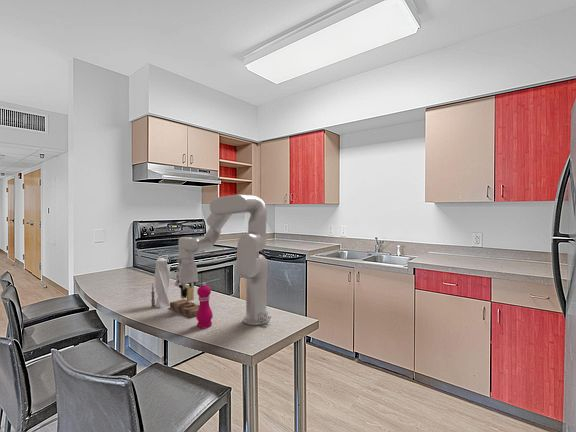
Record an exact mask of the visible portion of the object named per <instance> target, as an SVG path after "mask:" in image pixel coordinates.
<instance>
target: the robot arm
mask: <svg viewBox="0 0 576 432" xmlns="http://www.w3.org/2000/svg"><path fill="white" fill-rule="evenodd" d="M209 210H210V214H209V215H208V217H207V218H206V224H207V226H208V227H209V228H208V230H207V231H206V233H204V235H203V236H197V237H192V236H182V237H179V239H178V259H176V263H178V264H177V266H176V275H175V276H176V278H175V280H176V281H175V283H174V286H175V287H178V288H179V289H181V291H180V296H181V295H182V297H186V289H185V285H188V286H191V287H194V288H195V285H196V284H197V283H198V282H199V276H198V268H197V263H196V262H195V254H197V253H201V252H206V251H209V250H210V249H211V248H213V246H214V245H215V244H216V243H217V241H218V240H219V238H220V236H221V232H222V231H221V230H222V229H223V227H224V226H225V224H226V223H227V222H228V220H229V219H230V218H231V216H232V215H235V214H236V215H237V214H247V213H248V214H249V218H248V223H247V233H244V234H242V235H241V236H240V237H239V238H238V241H237V246H236V271H237V273H238V275H239V276H240V277H241V278H243V279H245V280H246V282H245V298H246V299H245V300H246V303H245V306H246V307H245V308H246V312H245V313H246V315H245V316H243V318H242V321H243V323H244V324H246V325H250V326H259V325H265V324H267V323H269V322H270V321H271V319H272V316H271V315H269V312H268V311H267V274H268V263H269V262H268V259H267V258H266V256H264V255H263V254H260V253H259V252H261V251H263V250H264V249H265V247H266V244H267V218H268V217H267V215H268V213H267V212H268V210H267V206H266V203H265V202H264V200H262V199H261V198H260V197H258V196H256V195H253V194H240V193H239V194H233V195H232V194H231V195H225V196H217V197H215V198H213V199H212V201H210V203H209Z"/></svg>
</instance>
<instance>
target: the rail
mask: <svg viewBox="0 0 576 432" xmlns="http://www.w3.org/2000/svg"><path fill="white" fill-rule="evenodd" d="M169 303H170V305H169V308H170V309H171V310H173V311H175V312H178V313H180V314H181V315H184V316H187V317H189V318H191V319H193V318H196V315H197V312H198V309H199V305H200V304H198V303H195V302H192V301H187V299H186V298H184V299H182V298H181V299H179V300H174V301H169Z"/></svg>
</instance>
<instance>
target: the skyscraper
mask: <svg viewBox="0 0 576 432" xmlns="http://www.w3.org/2000/svg"><path fill="white" fill-rule="evenodd" d="M164 256H166V258H165V257H164ZM161 257H162V258H161ZM168 259H169V254H162V255H159V257H158V258H157V260H155V271H154V284H153V283H152V284H151V286H152V287H151V300H150V302H151V306H150V307H151V308H154V309H158V310H159V309H163V308H166V307H170V300H169V297H168V292H169V288H170V279H171V278H170V270H169V266H168ZM154 286H155V291H154ZM155 292H156V295H157V298H156V300H155Z"/></svg>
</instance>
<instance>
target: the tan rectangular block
mask: <svg viewBox="0 0 576 432" xmlns="http://www.w3.org/2000/svg"><path fill="white" fill-rule="evenodd" d="M194 288H195V286H194V287H191V286H189V284H185V289H186V297H182V295H181V294H180V299H181V300H182V299H186V300H187V301H190V302H192V301H194V300H195V298H194V297H195V293H194V291H195V289H194ZM179 289H180V288H179ZM179 291H180V292H181V289H180V290H179Z"/></svg>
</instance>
